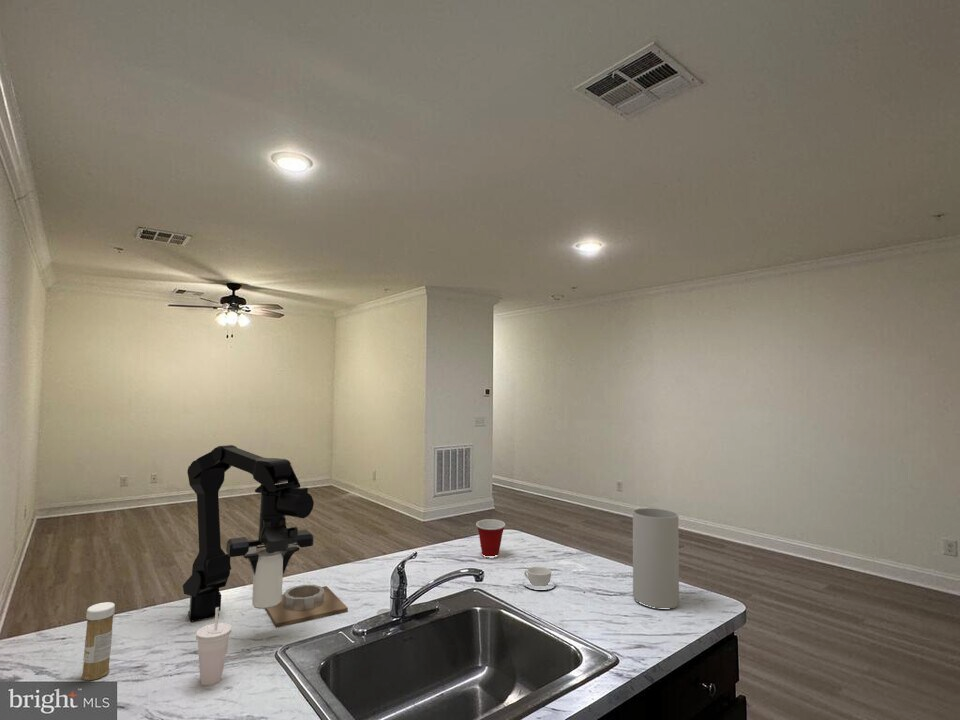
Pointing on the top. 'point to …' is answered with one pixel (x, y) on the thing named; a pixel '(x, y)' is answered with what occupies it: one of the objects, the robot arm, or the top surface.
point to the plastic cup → (490, 536)
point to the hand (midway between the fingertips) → (268, 579)
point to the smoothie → (212, 650)
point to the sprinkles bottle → (98, 640)
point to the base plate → (289, 617)
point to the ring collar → (303, 597)
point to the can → (268, 580)
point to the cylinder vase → (656, 557)
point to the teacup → (538, 576)
